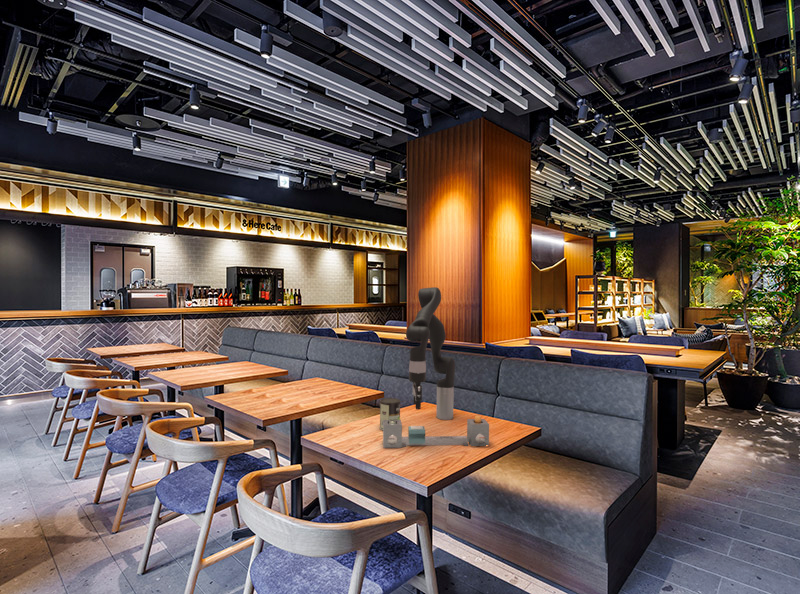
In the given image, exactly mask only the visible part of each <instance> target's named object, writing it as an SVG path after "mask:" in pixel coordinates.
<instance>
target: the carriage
mask: <svg viewBox="0 0 800 594" xmlns="http://www.w3.org/2000/svg"><path fill="white" fill-rule="evenodd" d="M407 427H408V429H407V431H408V434H407V435H408V436H407V437H409V444H425V436H426V428H425V426H422V425H410V426H407Z"/></svg>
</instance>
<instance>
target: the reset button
mask: <svg viewBox="0 0 800 594" xmlns="http://www.w3.org/2000/svg"><path fill="white" fill-rule="evenodd" d="M474 419H475V423H481V419H482V416H481V415H480V414H477V415H474Z"/></svg>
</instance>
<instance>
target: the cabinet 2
mask: <svg viewBox="0 0 800 594" xmlns="http://www.w3.org/2000/svg"><path fill="white" fill-rule="evenodd" d="M466 420H467V421H466V425H467V426H466V436H467V438H468V442H469V443H468V445H471V446H486V445H489V446H490V423H489V422H488V421H487V420H486V419H485V418H481V423H475V418H467V419H466ZM471 446H470V447H471Z"/></svg>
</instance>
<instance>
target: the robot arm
mask: <svg viewBox="0 0 800 594" xmlns="http://www.w3.org/2000/svg"><path fill="white" fill-rule="evenodd" d="M417 296H418V297H417V298H418V302H419V305H420V308H421V309H420V310H419V311H418V312H417V314H416V316H415V318H414V321H412V323H410V324H409V326H408V327H407V329H406V333H405V337H406V340H408V341H409V342H411V343H413V342H414V343H420V345H419V346H414V347H411V348H410V349H409V367H408V368H409V369H408V371H409V372H408V380H409V382H411V383H412V397H413V405H415V409H416V410H421V408H422V407H421V404H422V400H423V386H422V384H421V383H425V382H426V380H427V376H426V375H427V364H426V353H427V346H428V342H429V344H430V348H431V354H432V355H431V356H432V363H433V364H432V365H433V369H434V371H435V372H436V373H438V374H440V375H445V378H441V379H438V380H437V381H436V410H435V411H436V415H435V416H436V418H437V419H439V420H444V421H449V420H452V419H454V399H455V398H454V397H455V395H454V391H455V390H454V389H455V387H454V386H455V385H454V383H455V374H456V371H455V370H456V363H455V362H456V361H455V359H454V358H453V357H450V356H442V353H441V351H442V350H441V349H442V347H443V345H444V343H445V341H446V337H447V335H446V330H445V326H444V324H443V322H442V321H441V320H440V319H439V318H438V316H436V315H435V312H436V310H438V307H439V306H440V304H441V301H442V292H441V289H440V288H439V287H423V288H419V290H418V294H417Z"/></svg>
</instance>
